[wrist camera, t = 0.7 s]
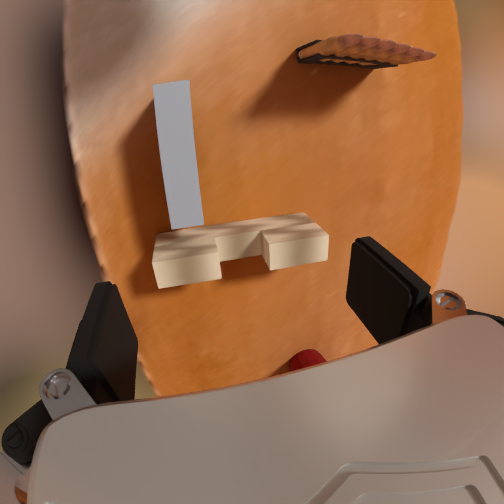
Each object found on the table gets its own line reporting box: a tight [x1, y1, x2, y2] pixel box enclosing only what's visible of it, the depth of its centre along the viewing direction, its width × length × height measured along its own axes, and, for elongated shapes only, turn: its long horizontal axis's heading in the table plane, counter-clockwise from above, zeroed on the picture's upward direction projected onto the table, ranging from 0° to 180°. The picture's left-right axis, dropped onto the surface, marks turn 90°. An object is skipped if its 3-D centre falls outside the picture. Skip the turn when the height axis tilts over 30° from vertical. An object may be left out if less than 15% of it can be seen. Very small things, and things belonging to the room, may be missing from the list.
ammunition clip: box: [296, 33, 436, 69], centre depth 23 cm, size 11×2×12 cm, turn 95°
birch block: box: [152, 213, 329, 289], centre depth 32 cm, size 18×3×7 cm, turn 93°
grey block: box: [153, 80, 204, 229], centre depth 26 cm, size 13×3×7 cm, turn 3°
